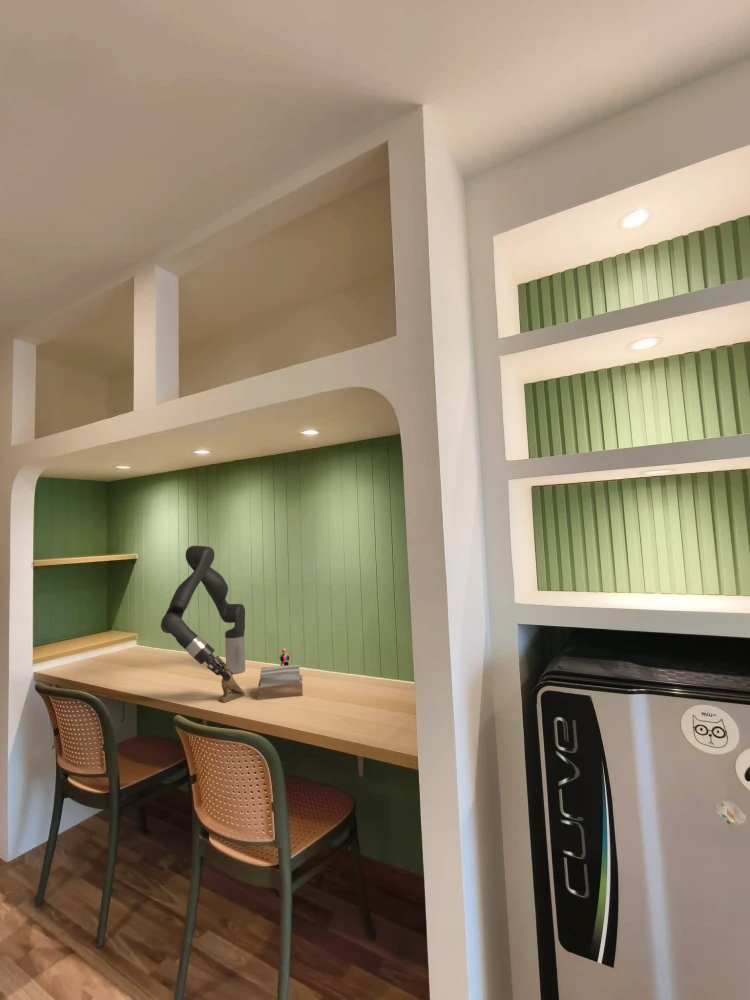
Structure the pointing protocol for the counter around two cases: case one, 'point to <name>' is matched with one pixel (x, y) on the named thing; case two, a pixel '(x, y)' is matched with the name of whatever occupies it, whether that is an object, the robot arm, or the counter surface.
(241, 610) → the robot arm
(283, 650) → the statue
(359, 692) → the counter surface
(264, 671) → the grey and brown block
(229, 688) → the brown carved statuette
